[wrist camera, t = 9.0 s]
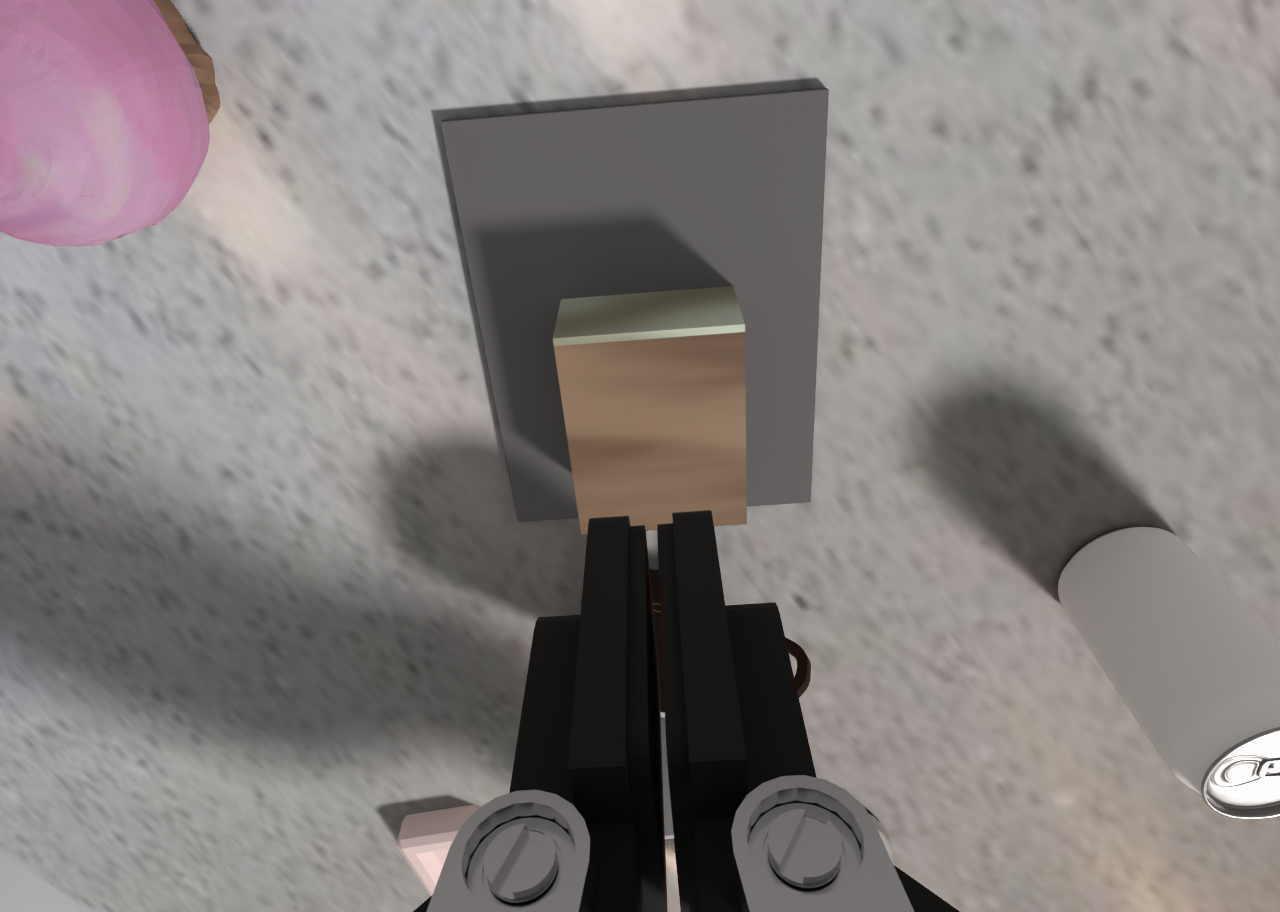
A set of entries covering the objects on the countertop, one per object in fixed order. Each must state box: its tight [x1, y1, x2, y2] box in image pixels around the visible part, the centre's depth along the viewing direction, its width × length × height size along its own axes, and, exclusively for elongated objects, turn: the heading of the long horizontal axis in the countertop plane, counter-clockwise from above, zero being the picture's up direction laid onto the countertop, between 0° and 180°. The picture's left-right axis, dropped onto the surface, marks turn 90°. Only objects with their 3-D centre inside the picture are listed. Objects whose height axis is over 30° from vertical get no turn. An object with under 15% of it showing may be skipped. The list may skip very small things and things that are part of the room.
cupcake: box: [0, 0, 220, 247], centre depth 24 cm, size 9×9×10 cm
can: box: [1058, 527, 1280, 819], centre depth 36 cm, size 6×6×12 cm
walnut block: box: [553, 286, 747, 535], centre depth 33 cm, size 4×7×9 cm
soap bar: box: [396, 805, 480, 896], centre depth 52 cm, size 5×9×2 cm, turn 13°
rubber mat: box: [440, 88, 828, 522], centre depth 34 cm, size 18×14×1 cm
